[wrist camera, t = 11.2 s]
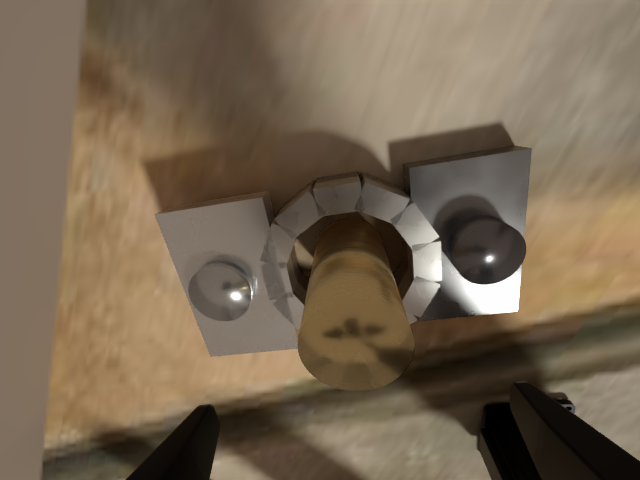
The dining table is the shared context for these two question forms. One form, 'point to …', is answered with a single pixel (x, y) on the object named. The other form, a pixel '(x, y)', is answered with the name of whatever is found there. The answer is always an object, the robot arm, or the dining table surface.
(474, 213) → the lower link
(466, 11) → the dining table surface
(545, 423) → the robot arm
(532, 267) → the dining table surface
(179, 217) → the upper link
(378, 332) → the pin
